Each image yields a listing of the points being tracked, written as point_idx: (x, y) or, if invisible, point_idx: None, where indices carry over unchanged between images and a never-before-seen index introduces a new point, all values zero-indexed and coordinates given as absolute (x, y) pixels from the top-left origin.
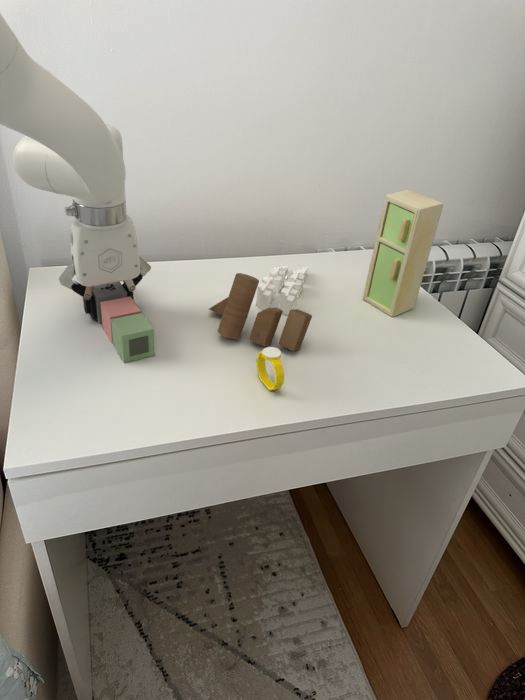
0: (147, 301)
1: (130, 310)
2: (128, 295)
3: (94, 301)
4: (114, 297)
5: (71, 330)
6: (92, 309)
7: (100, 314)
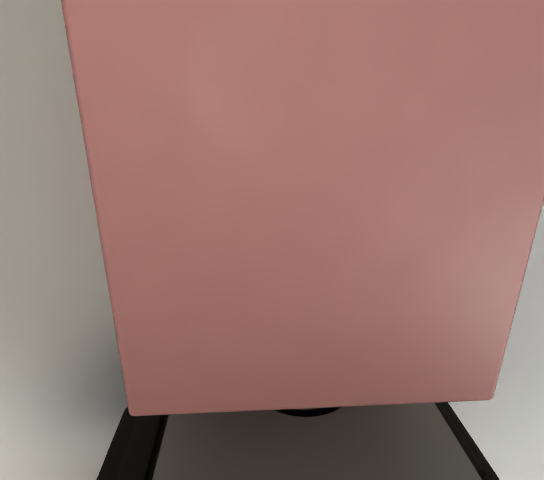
0: (38, 433)
1: (229, 65)
2: (141, 467)
3: None
4: (290, 454)
5: (535, 297)
6: None
7: None
